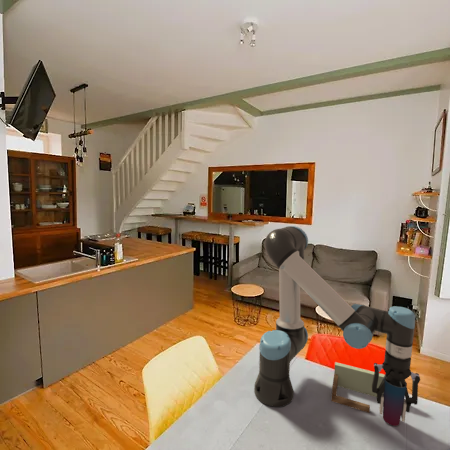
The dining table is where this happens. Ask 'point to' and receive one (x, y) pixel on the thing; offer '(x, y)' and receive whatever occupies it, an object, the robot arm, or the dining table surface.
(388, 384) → the cup
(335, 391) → the bracket
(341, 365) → the wall board
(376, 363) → the robot arm
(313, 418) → the dining table surface
